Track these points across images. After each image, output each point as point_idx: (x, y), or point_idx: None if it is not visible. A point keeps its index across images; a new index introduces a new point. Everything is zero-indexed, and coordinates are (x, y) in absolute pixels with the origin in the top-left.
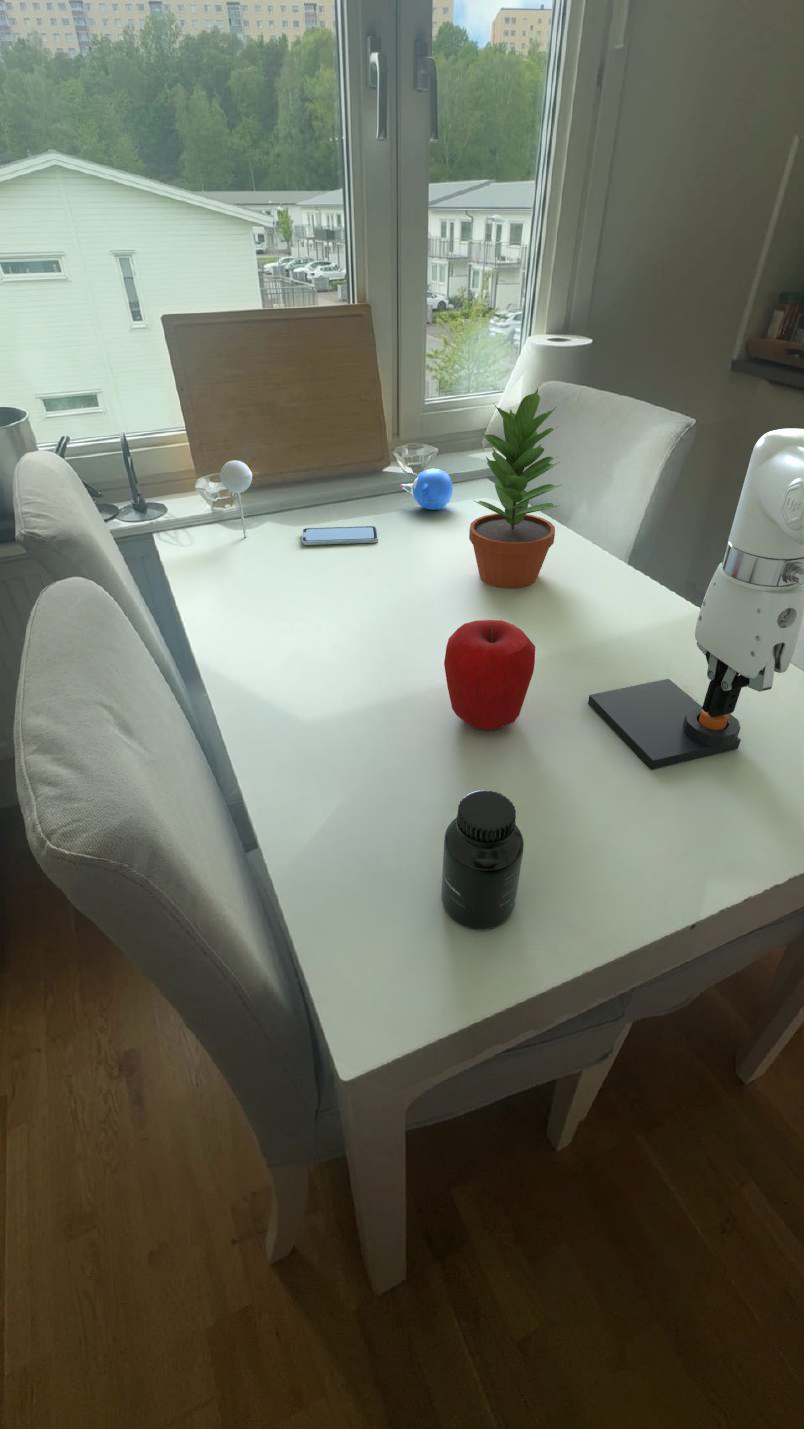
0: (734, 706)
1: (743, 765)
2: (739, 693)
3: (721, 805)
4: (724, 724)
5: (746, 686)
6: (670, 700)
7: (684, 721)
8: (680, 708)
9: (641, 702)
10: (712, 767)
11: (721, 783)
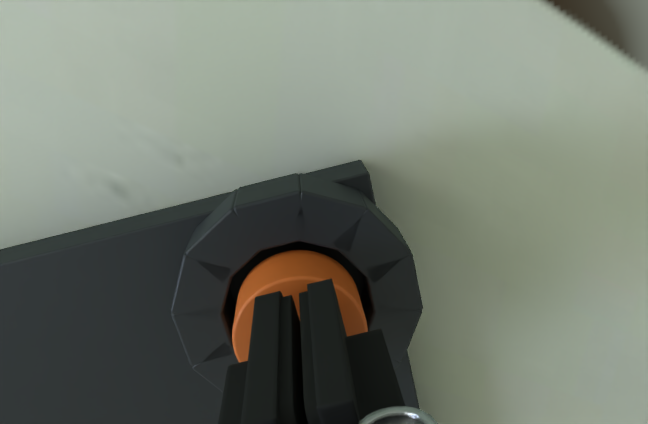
0: (383, 341)
1: (461, 183)
2: (402, 400)
3: (631, 341)
4: (357, 294)
5: (425, 416)
6: (48, 358)
7: None
8: (114, 337)
9: None
10: (451, 298)
11: (536, 301)
